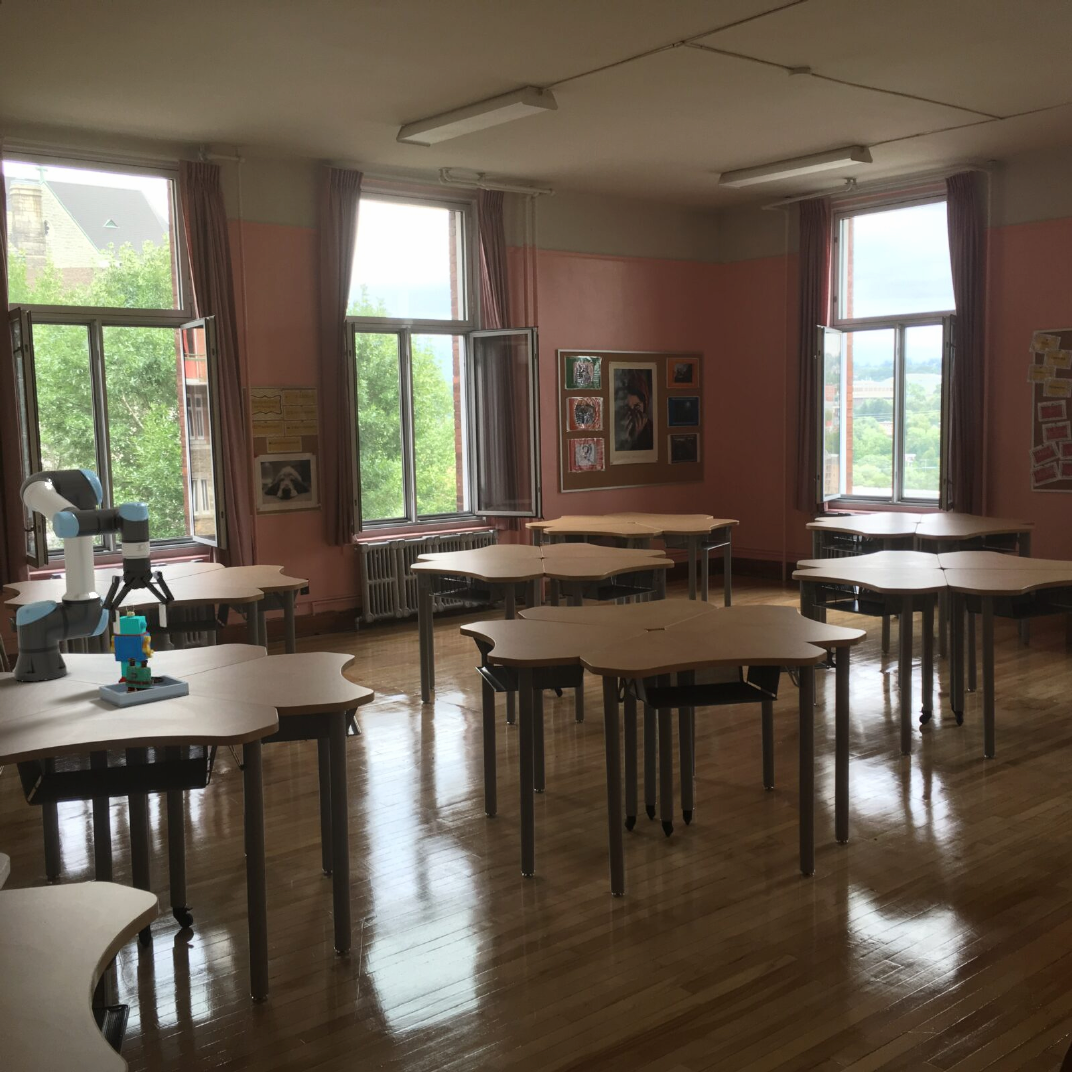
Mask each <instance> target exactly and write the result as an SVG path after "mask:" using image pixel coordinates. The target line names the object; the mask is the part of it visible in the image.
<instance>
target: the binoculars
mask: <svg viewBox="0 0 1072 1072" xmlns="http://www.w3.org/2000/svg"><path fill="white" fill-rule="evenodd" d="M135 662H136V659H134V658H129V666H127V670H126V679H125V682H126V686H128V690H127V691H126V694H127V693H132V692H137V691H143V690H148V689H154V688H150V687H151V684H152V683H153V680H154V685H155V683H162V682H164V678H162V677H156V676H152V670H151V669H152V668H151V666H148V663H149V660H148V659H146V660H142V661H140V663H141V667H138V666H135ZM152 685H153V684H152ZM135 687H136V689H135ZM158 688H159V687H158Z"/></svg>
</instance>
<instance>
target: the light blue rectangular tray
mask: <svg viewBox="0 0 1072 1072" xmlns="http://www.w3.org/2000/svg"><path fill="white" fill-rule="evenodd" d="M155 677H162V678H164V682H162V683H155V685H154V680H153V683H152V684H153V685H152V684H151V687H150V688H154V689H148V690H143V691H137V692H132V693H127V694H126V691H127V690H128V686H126V682H123V683H114V684H106V685H102V686H101V685H100V686H98V690H99V699H100V700H102V701H104V702H106V703H109V704H111V705H114V706H116V707H118V708H120V709H123V708H127V707H133V706H132V705H134V706H138V705H143V704H142V703H144V704H147V703H153V702H152V701H154V702H159V701H163V700H162V699H164V700H168V699H173V698H172V697H174V698H178V696H180V697H183V695H185V696H188V695H190V690H189V689H190V688H189V687H190V685H189V682H187V681H184V680H182V679H179V678H176V677H173V676H170V675H168V674H162V675H158V676H155ZM158 687H159V688H158ZM135 689H136V687H135Z"/></svg>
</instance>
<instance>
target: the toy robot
mask: <svg viewBox="0 0 1072 1072" xmlns="http://www.w3.org/2000/svg"><path fill="white" fill-rule="evenodd" d="M129 605H132V606H133V604H132V603H128V604H127V605H126V606H125V609H126V611H127V612H126V615H125V616H119V619H120V634H116V633H115V635H112V636H111V639H110V641H111V646H110V652H111V653H113V655H114V659H115V660H114V661H115V662H118V663H119V662H120V669H121V671H120V672H121V677H120V678H119V680H118V683H123V682H125V679H126V670H127V666H129V658H134V659H136V662H135V666H138V667H141V663H140V661H142V660H148V659H153V658H154V656H153V654H155V651H154V649H151V640H152V639H151V638H152V637H151V635H150V633H151V632H148V631H147V630H146V628H147V626H148V624H147V622H146V616H145V615H141V616H139V615H136V614H135V609H133V610H132V611H128V609H127V608H128V606H129Z"/></svg>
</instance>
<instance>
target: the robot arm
mask: <svg viewBox="0 0 1072 1072" xmlns="http://www.w3.org/2000/svg"><path fill="white" fill-rule="evenodd" d="M19 497H20V500H21V502H22V503H23V505H24V506H25V507H27V508H28V509H29V510H31V511H33V512H37V513H40V514H41V515H43V516H44V517H45V518H47V519H48V520H49V521H50V522H51V523H52V529H53V532H54V535H55V536H56V537H57V538H59V539H63V550H64V551H63V552H64V554H63V555H64V556H63V557H64V568H65V569H64V570H65V571H64V573H65V587H66V589H65V590H66V591H65V593H64V594H63V595H62V596H61V603H57V601H55V600H54V599H53V600H51V599H50V600H41V601H35V602H30V603H27V604H25V605H23V606H21V607H19V608H18V609H17V610H16V622H15V624H16V631H17V645H18V657H17V661H16V664H15V668H14V672H13V675H14V676H13V677H14V678H15V679H17V680H21V681H20V682H23V681H33V682H40V681H39V680H44V681H46V680H45V679H51V680H54V679H55V678H56V679H59V677H60V678H63V677H65V676H66V675H68V670H67V665H66V662H65V660H64V658H63V655H62V653H61V651H60V642H61V641H66V640H73V639H81V638H91V637H94V636H99V635H101V634H103V633H104V632H105V630H106V629H107V626H108V623H109V621H110V622H111V623H113V625H112V626H113V634H115V635H116V634H120V619H119V618H120V611H119V610H117V609H118V608H119V607H120V605H121V604H122V602H123V601H124V599H125V598H126V597H127V595H128V594H129V592H131V591H132V590H136V591H137V590H138V589H139V590H140V589H143V590H144V589H148V590H149V591H150V593H152V594H153V596H155V598H156V599H157V600H159V602H161V603H159V604H158V613H159V626H160V627H163V628H167V627H168V626H167V615H169V614H170V613H169V605H170V604H171V603H172V602H174V601H175V597H174V595H173V594H172V592H171V590H170V588H169V586H168V584H167V582H166V581H165V579H164V575H163V571H161V570H155V571H153V572H152V563H151V559H152V558H151V556H150V554H151V545H150V527H149V526H150V525H149V522H150V521H149V517H150V514H149V510H148V505H147V503H146V502H142V501H141V502H139V501H133V502H124V503H123V502H122V503H121V504H120V505H119V506H117V507H116V506H114V507H110V508H99V509H98V508H97V506H99V505H101V504H102V502H103V499H104V498H103V488H102V484H101V481H100V478H99V477H98V475H97V474H96V473H95V472H94V471H93V470H91V469H80V468H75V469H59V470H58V469H57V470H43V471H42V470H41V471H38V472H35V473H33V474H31V475H30V476H28V477H27V478H26V479H25V480H24V482H22V484H21V487H20V490H19ZM108 535H110V536H111V535H120V536H121V537H120V538H121V555H122V557H123V558H122V571H123V574H122V575H115V574H114V575H112V576H111V584H110V587H109V588H108V589H109V590H108V592H107V594H106V596H105V598H104V599H103V598H102V597H101V594H100V593H99V592H98V591H97V590H96V581H95V580H96V578H95V577H96V576H95V563H94V562H95V559H94V557H95V556H94V541H93V538H94V537H95V536H108ZM152 578H153V579H155V580H156V582H157V584H158V586H159V588H160V589H161V591H160V590H159V589H157V587H156V586H155V585H154V584H153V583H152V582H151V581H152ZM122 581H123V582H124V585H123V586H122V587H121V590H120V591H119V592H118V593H117V591H118V589H119V587H120V584H121V583H122ZM162 593H163V594H162ZM116 594H117V595H116ZM115 596H116V597H115ZM15 679H14V680H15ZM56 679H55V680H56ZM17 680H16V681H17ZM22 680H23V681H22Z"/></svg>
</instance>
